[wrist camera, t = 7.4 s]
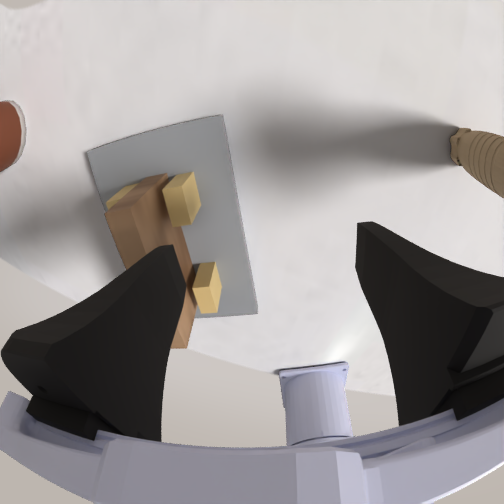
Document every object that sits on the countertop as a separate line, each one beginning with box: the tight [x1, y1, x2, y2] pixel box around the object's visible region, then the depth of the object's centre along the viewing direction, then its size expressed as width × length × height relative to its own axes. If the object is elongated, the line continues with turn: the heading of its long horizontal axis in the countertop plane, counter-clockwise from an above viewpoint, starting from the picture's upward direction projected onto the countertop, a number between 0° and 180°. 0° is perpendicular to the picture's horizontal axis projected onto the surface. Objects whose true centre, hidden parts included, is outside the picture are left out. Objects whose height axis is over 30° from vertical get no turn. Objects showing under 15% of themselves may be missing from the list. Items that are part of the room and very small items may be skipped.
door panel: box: [105, 173, 198, 348], centre depth 18 cm, size 10×2×6 cm, turn 8°
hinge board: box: [87, 114, 258, 318], centre depth 19 cm, size 16×10×4 cm, turn 9°
